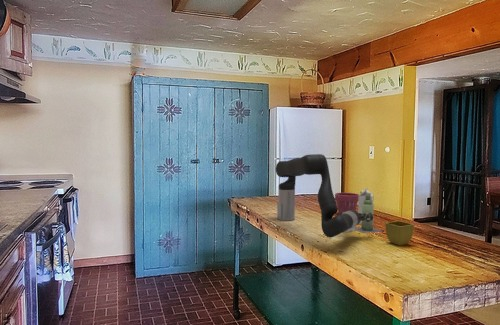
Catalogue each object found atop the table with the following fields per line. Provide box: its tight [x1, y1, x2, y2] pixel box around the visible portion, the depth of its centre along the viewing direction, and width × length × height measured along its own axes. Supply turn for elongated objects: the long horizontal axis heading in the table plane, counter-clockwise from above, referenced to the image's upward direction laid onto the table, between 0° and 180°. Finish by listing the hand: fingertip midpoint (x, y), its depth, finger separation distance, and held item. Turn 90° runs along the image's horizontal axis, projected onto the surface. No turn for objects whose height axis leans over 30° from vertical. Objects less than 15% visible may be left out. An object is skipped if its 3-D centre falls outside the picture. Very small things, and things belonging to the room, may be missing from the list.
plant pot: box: [334, 192, 360, 215], centre depth 228 cm, size 14×14×13 cm
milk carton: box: [357, 187, 374, 224], centre depth 207 cm, size 7×7×19 cm
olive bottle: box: [360, 192, 375, 231], centre depth 189 cm, size 6×6×18 cm
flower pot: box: [384, 220, 415, 246], centre depth 165 cm, size 9×9×9 cm
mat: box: [355, 226, 384, 234], centre depth 189 cm, size 11×11×1 cm
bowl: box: [344, 226, 357, 233], centre depth 191 cm, size 14×14×3 cm
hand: (361, 213), depth 182 cm, fingers open, 8 cm apart
